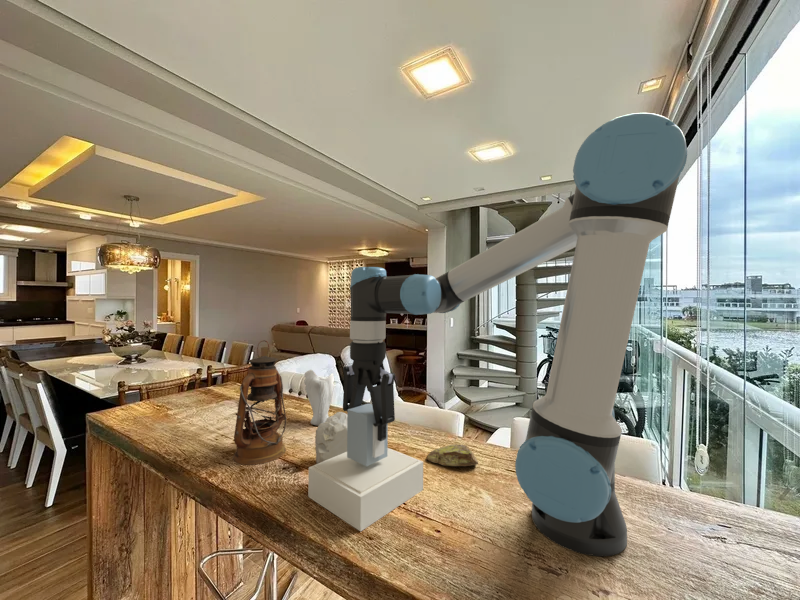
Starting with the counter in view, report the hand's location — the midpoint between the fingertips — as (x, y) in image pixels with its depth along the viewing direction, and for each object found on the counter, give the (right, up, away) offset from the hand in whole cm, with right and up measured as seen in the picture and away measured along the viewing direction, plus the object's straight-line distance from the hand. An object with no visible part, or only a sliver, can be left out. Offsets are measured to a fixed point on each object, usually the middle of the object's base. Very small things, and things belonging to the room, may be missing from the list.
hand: (367, 450), depth 72 cm
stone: (-10, -9, +15) cm, 20 cm away
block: (0, -1, 0) cm, 1 cm away
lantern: (-30, -9, +19) cm, 37 cm away
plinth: (0, -9, 0) cm, 9 cm away
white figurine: (-20, -10, +41) cm, 47 cm away
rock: (+21, -10, +15) cm, 28 cm away
